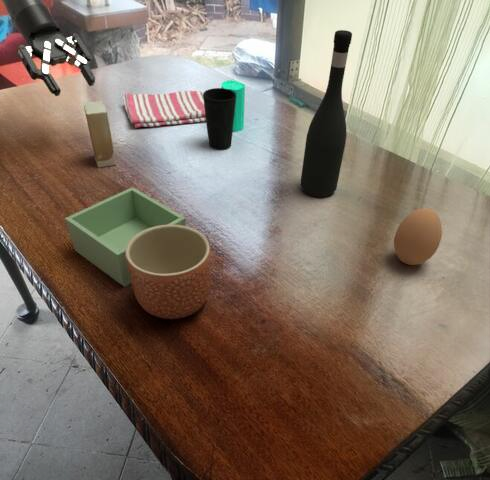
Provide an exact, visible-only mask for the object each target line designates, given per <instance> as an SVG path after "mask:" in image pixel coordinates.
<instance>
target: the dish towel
mask: <svg viewBox="0 0 490 480" xmlns="http://www.w3.org/2000/svg"><path fill="white" fill-rule="evenodd" d="M203 93H204V92H202V91H200V90H180V91H175V92H169V93H155V94H148V93H138V94H137V93H134V94H131V93H128V92H125V94H124V95H122V98H123V103H124V104H123V105H124V108H125V112H126V114H127V116H128V119H129V121H130V123H131V124H133V125H134V127H135V129H139V128H141V127H144V128H145V127H146V128H148V127H150V128H151V127H161V126H167V125H168V126H169V125H170V126H171V125H181V124H190V123H191V124H192V123H201V122H206V116H205V107H204V99H203Z"/></svg>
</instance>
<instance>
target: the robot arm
mask: <svg viewBox="0 0 490 480" xmlns="http://www.w3.org/2000/svg"><path fill="white" fill-rule="evenodd" d="M1 2H2V4H3V6H4V8H5V11H6V12H7V13H8V15H9V17H10V19H11V21H12V22H13V23H14V25H15V27H16V28H17V30H18V32H19V33H20V34H21V36H22V37H23V39H24V41H25V42H26V44H27V45H28V46H26V45H24V44H19V46H18V51H17V56H18V57H19V59H20V61H21V63H22V64H23V67H24V68H25V70H26V71H27V74H28V75H29V78H31V80H33V81H36V80H41V81H42V82H43V83H44V84H45V86H46V88H47V89H48V90H49V93H51V95H54V96H55V97H58V96H60V94H61V91H62V89H61V88H60V86H59V85H58V83H57V82H56V80H55V78H54V77H53V75H52V74H51V73H49V72H50V71H49V70H50V69H49V68H50V66H51V67H54V66H56V65H58V64H59V65H62V64H65V63H67V64H68V65H70V66H74V67H76V68H77V69H79V70H80V73H81V75H82V76H83V78H84V80H85V82H86V83H87V85H88V86H89V87H93V86H94V85H95V82H96V77H95V75H94V72H93V71H92V70H91V68H90V65H91V63H92V60H93V55H92V53H91V52H90V51H89V49H88V47H87V46H86V45H85V43H84V42H83V40H82V39H81V37H80V35H79V34H78V33H76V32H73V33H72V35H71V36H69V37H66V36H64V34H63V33H62V31H61V30H60V26H59V25H58V23H57V21H56V20H55V18H54V17H53V15H52V14H51V12H50V10H49V8H48V7H47V5H46V3H45V2H44V0H1ZM69 55H70V56H71V57H70V56H69ZM32 56H34V57H36V58H38V59H39V60H40V68H38V66H37V64H36V63H35V61H34V59H33V57H32Z"/></svg>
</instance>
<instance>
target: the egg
mask: <svg viewBox="0 0 490 480" xmlns="http://www.w3.org/2000/svg"><path fill="white" fill-rule="evenodd" d="M395 231H396V232H395V234H394V237H393V248H394V252H395V254H396V256H397V258H398V259H399V260H400V261H401V262H402V263H403V264H405V265H409V266H418V265H420V264H423V263H425V262H426V261H428V260H429V259H431V258H432V257H433V256H434V255H435V253H436V252H437V250H438V248H439V247H440V244H441V241H442V237H443V234H442V233H443V228H442V222H441V219H440V217H439V215H438V214H437V212H436V211H435V210H433V209H431V208H428V207H421V208H418V209H414V210H413V211H411V212H410V213H409V214H407V216H406V217H405V218H404V219H403V220H402V221H401V222H400V224H399V226H398V227H397V229H396V230H395Z"/></svg>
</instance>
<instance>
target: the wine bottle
mask: <svg viewBox="0 0 490 480" xmlns="http://www.w3.org/2000/svg"><path fill="white" fill-rule="evenodd" d="M352 38H353V33H352V32H351V31H350V30H346V29H340V30H336V31H335V32H334V36H333V48H332V56H331V62H330V70H329V75H328V82H327V87H326V90H325V93H324V96H323V98H322V100H321V102H320V104H319V106H318V108H317V110H316V111H315V113H314V115H313V117H312V119H311V121H310V124H309V126H308V130H307V132H306V138H305V145H304V152H303V153H304V154H303V161H302V167H301V168H302V169H301V176H300V188H301V189H302V191H303V192H304V193H306V194H307V195H309V196H312V197H318V198H320V197H321V198H323V197H328V196H331V195H332V194H334V193H335V191H336V190H337V187H338V183H339V177H340V174H341V173H340V172H341V168H342V162H343V159H344V158H343V157H344V152H345V148H346V142H347V122H346V121H347V120H346V115H345V110H344V105H343V103H344V102H343V83H344V78H345V71H346V66H347V61H348V56H349V49H350V46H351V44H352V40H353V39H352Z"/></svg>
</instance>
